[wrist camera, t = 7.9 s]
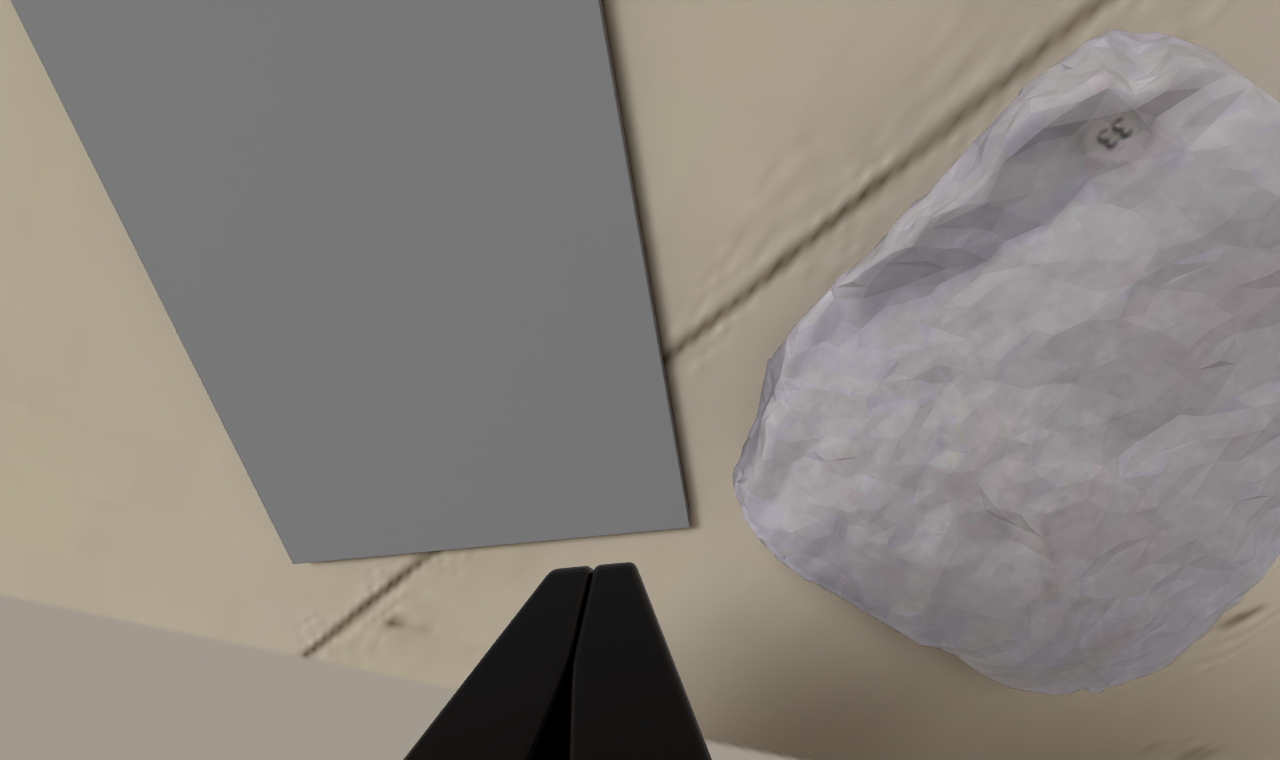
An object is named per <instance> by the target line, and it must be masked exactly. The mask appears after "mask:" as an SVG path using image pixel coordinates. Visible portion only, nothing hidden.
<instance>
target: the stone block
mask: <svg viewBox="0 0 1280 760" xmlns="http://www.w3.org/2000/svg"><path fill="white" fill-rule="evenodd" d="M733 485H734V488H735V493H736V497H737V499H738V501H739V503H740V505H741V507H742V510H743V514H744V517H745V519H746V521H747V522H748V523H749V525H750V526H751V527H752V529H753V530H754V532H755V533H756V535H757V536H758V538H759V539H760V540H761V542H762V543H763V544H764V545H765V546H766V547H767V548H768V549H769V550H770V551H771V552H773V554H774V555H775V557H777V558H778V559H779V560H780V561H781V562H782V563H783V564H784V565H786V566H788V567H790V568H791V569H793V570H794V571H795V572H796V573H798V574H799V575H800V576H801V577H802V578H804V579H805V580H808V581H810V582H815V583H816V584H818V585H819V586H821V587H822V588H823V589H825V590H828V591H831V592H833V593H834V594H836V595H838V596H839V597H841V598H842V599H844V600H846V601H847V602H849V603H850V604H852V605H854V606H855V607H857V608H858V609H860V610H862V611H864V612H866V613H867V614H869V615H871V616H872V617H874V618H876V619H877V620H879V621H881V622H882V623H884V624H886V625H887V626H889V627H891V628H893V629H895V630H896V631H898V632H900V633H902V634H904V635H906V636H907V637H909V638H910V639H911V640H913V641H914V642H916V643H917V644H919V645H922V646H929V647H935V648H938V649H940V650H943V651H945V652H948V653H950V654H954V655H955V656H957V657H958V658H959V659H961V660H962V661H963V662H965V663H966V664H967V665H969V666H970V667H972V668H973V669H974V670H976V671H977V672H978V673H980V674H981V675H985V676H986V677H988V678H990V679H991V680H993V681H996V682H998V683H1001V684H1003V685H1005V686H1007V687H1009V688H1014V689H1019V690H1023V691H1028V692H1035V693H1042V694H1050V695H1060V694H1069V693H1073V692H1076V691H1078V690H1082V689H1085V690H1087V691H1089V692H1090V693H1101V692H1102V691H1104V690H1105V689H1106V688H1108V687H1110V686H1116V685H1123V684H1124V683H1125V682H1127V681H1129V680H1133V679H1136V678H1140V677H1143V676H1146V675H1150V674H1152V673H1154V672H1156V671H1158V670H1160V669H1163V668H1164V667H1166V666H1168V665H1169V664H1171V663H1172V662H1173V661H1174V660H1175V659H1176V658H1178V657H1179V656H1180V655H1181V654H1182V653H1183V652H1184V651H1185V650H1186V649H1187V648H1188V647H1189V646H1190V645H1191V644H1192V643H1193V642H1195V641H1196V640H1198V639H1200V638H1201V637H1203V636H1204V635H1205V634H1206V633H1207V632H1208V631H1209V630H1210V628H1211V627H1212V626H1213V625H1214V624H1215V623H1216V622H1217V621H1218V620H1219V618H1220V617H1221V616H1222V615H1223V614H1224V613H1225V612H1226V611H1228V610H1229V609H1231V608H1232V607H1234V606H1235V605H1236V604H1238V603H1239V601H1240V600H1241V599H1242V597H1243V596H1244V594H1245V593H1246V592H1248V591H1249V590H1250V589H1251V588H1252V587H1253V586H1254V585H1256V584H1257V583H1258V582H1259V581H1260V580H1261V579H1262V578H1263V577H1264V575H1265V574H1266V573H1267V571H1268V570H1269V568H1270V567H1271V565H1272V564H1273V562H1274V561H1275V560H1276V558H1277V557H1278V555H1279V554H1280V103H1279V102H1278V101H1276V100H1275V99H1274V98H1273V97H1271V96H1270V95H1269V94H1267V93H1266V92H1265V91H1263V90H1262V89H1261V88H1259V87H1258V86H1256V85H1255V84H1254V83H1252V82H1251V81H1250V80H1249V79H1247V78H1246V77H1245V76H1244V75H1243V74H1241V73H1240V72H1239V71H1238V70H1237V69H1235V68H1234V67H1233V66H1232V65H1231V64H1229V63H1228V62H1227V61H1225V60H1224V59H1223V58H1222V57H1220V56H1219V55H1218V54H1216V53H1215V52H1214V51H1212V50H1209V49H1206V48H1204V47H1201V46H1198V45H1195V44H1193V43H1190V42H1187V41H1184V40H1182V39H1179V38H1176V37H1173V36H1170V35H1166V34H1161V33H1157V32H1150V33H1140V34H1137V33H1131V32H1127V31H1122V30H1112V31H1107V32H1105V33H1103V34H1100V35H1098V36H1096V37H1094V38H1092V39H1090V40H1088V41H1086V42H1085V43H1084V44H1083V45H1082V46H1081V47H1079V48H1078V49H1077V50H1076V51H1074V52H1073V53H1072V54H1070V55H1069V56H1068V57H1066V58H1064V59H1063V60H1061V61H1059V62H1058V63H1056V64H1055V65H1053V66H1052V67H1050V68H1049V69H1047V70H1046V71H1045V72H1043V73H1042V74H1040V75H1039V76H1038V77H1036V78H1035V79H1033V80H1032V81H1031V82H1029V83H1028V84H1026V85H1025V86H1023V88H1022V90H1021V91H1020V93H1019V95H1018V97H1017V98H1016V99H1015V100H1014V101H1013V102H1012V103H1011V104H1010V105H1009V106H1008V107H1007V108H1006V109H1005V110H1004V111H1003V112H1002V113H1001V114H1000V115H999V116H998V117H997V118H996V119H995V121H994V122H993V123H992V124H991V125H990V126H989V127H988V128H987V129H986V130H985V131H984V132H983V133H982V134H981V135H980V136H979V137H978V138H976V139H975V140H974V141H973V142H972V143H971V145H970V146H969V147H968V149H967V150H966V151H965V152H964V154H963V155H962V156H961V157H960V159H959V160H958V161H957V162H956V163H955V164H954V165H953V166H952V167H951V168H950V169H949V170H948V171H947V173H946V174H945V175H944V176H943V177H942V178H941V179H940V180H939V181H938V182H937V183H936V185H935V186H934V187H933V188H932V190H931V191H930V192H929V193H928V194H927V195H925V196H923V197H922V198H920V199H918V200H917V201H915V202H913V203H912V205H911V207H910V209H909V210H908V211H907V212H905V213H904V214H903V215H902V216H901V217H900V218H899V219H898V220H897V221H896V223H895V224H894V225H893V226H892V227H891V229H890V231H889V232H888V233H887V234H886V235H885V236H884V237H883V239H882V240H881V241H880V242H879V243H878V245H877V246H876V247H875V248H874V249H873V250H872V251H871V252H870V253H869V254H868V255H867V256H866V257H865V258H864V259H863V260H861V261H860V262H859V263H857V264H856V265H855V266H853V267H852V268H851V269H849V270H848V271H847V272H845V273H844V274H842V275H841V276H840V277H839V278H838V279H837V280H836V281H835V282H834V284H833V285H832V286H831V287H830V288H829V289H828V291H827V292H826V293H825V294H824V295H823V297H822V298H821V299H820V300H819V301H818V303H817V304H815V305H814V306H812V307H811V308H810V309H809V311H808V312H807V313H806V314H805V315H804V316H803V318H802V319H801V320H800V321H799V322H798V323H797V324H796V325H795V326H794V327H793V329H792V330H791V332H790V334H789V336H788V337H787V340H786V341H785V342H784V343H783V344H782V345H781V346H780V347H779V348H778V349H777V351H776V353H775V354H774V356H773V357H772V358H771V359H769V360H768V362H767V368H766V374H765V379H764V383H763V387H762V392H761V399H760V404H759V409H758V414H757V418H756V420H755V422H754V424H753V426H752V428H751V430H750V432H749V435H748V438H747V440H746V442H745V444H744V446H743V450H742V454H741V457H740V459H739V461H738V463H737V464H736V466H735V467H734V472H733Z"/></svg>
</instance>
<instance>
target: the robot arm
mask: <svg viewBox="0 0 1280 760" xmlns="http://www.w3.org/2000/svg"><path fill="white" fill-rule="evenodd" d="M404 760H712V759H711V756H710V754H709V751H708V748H707V746H706V743H705V741H704V738H703V736H702V733H701V730H700V728H699V725H698V723H697V720H696V718H695V715H694V712H693V710H692V707H691V705H690V702H689V700H688V697H687V695H686V692H685V689H684V687H683V684H682V682H681V679H680V677H679V674H678V671H677V669H676V666H675V664H674V661H673V659H672V656H671V653H670V651H669V648H668V646H667V643H666V641H665V638H664V636H663V633H662V630H661V628H660V625H659V623H658V620H657V618H656V615H655V612H654V610H653V607H652V605H651V602H650V600H649V597H648V594H647V592H646V589H645V587H644V584H643V582H642V579H641V576H640V574H639V571H638V569H637V567H636V565H635V564H633V563H631V562H627V563H616V564H604V565H599V566H597V567H596V568H595V569H594V570H593V569H592V568H590V567H588V566H582V567H571V568H560V569H555V570H553V571H551V572H550V573H549V574H548V575H547V576H546V577H545V579H544V580H543V581H542V582H541V584H540V585H539V586H538V588H537V589H536V590H535V591H534V593H533V594H532V595H531V597H530V598H529V599H528V600H527V602H526V603H525V604H524V606H523V607H522V608H521V609H520V611H519V612H518V613H517V615H516V616H515V617H514V618H513V620H512V621H511V622H510V623H509V625H508V626H507V627H506V629H505V630H504V631H503V632H502V634H501V635H500V636H499V638H498V639H497V640H496V641H495V643H494V644H493V645H492V647H491V648H490V649H489V650H488V652H487V653H486V654H485V656H484V657H483V658H482V659H481V661H480V662H479V663H478V665H477V666H476V667H475V668H474V670H473V671H472V672H471V674H470V675H469V676H468V677H467V679H466V680H465V681H464V683H463V684H462V685H461V686H460V688H459V689H458V690H457V691H456V693H455V694H454V695H453V697H452V698H451V699H450V701H449V702H448V703H447V704H446V706H445V707H444V708H443V709H442V711H441V712H440V713H439V715H438V716H437V717H436V718H435V720H434V721H433V722H432V724H431V725H430V726H429V728H428V729H427V730H426V731H425V733H424V734H423V735H422V736H421V738H420V739H419V740H418V742H417V743H416V744H415V745H414V747H413V748H412V749H411V751H410V752H409V753H408V754H407V756H406V757H405V758H404Z"/></svg>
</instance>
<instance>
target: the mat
mask: <svg viewBox="0 0 1280 760" xmlns="http://www.w3.org/2000/svg"><path fill="white" fill-rule="evenodd" d="M11 2H12V4H13V6H14V8H15V10H16V12H17V14H18V16H19V18H20V20H21V22H22V24H23V26H24V28H25V30H26V32H27V34H28V36H29V38H30V40H31V42H32V44H33V46H34V48H35V50H36V52H37V54H38V56H39V58H40V60H41V62H42V64H43V66H44V68H45V70H46V72H47V74H48V76H49V78H50V80H51V82H52V84H53V86H54V88H55V90H56V92H57V94H58V96H59V98H60V100H61V102H62V104H63V106H64V108H65V110H66V112H67V114H68V116H69V118H70V120H71V122H72V124H73V126H74V128H75V130H76V132H77V134H78V136H79V138H80V140H81V142H82V144H83V146H84V148H85V150H86V152H87V153H88V155H89V157H90V159H91V161H92V163H93V165H94V167H95V169H96V171H97V173H98V175H99V177H100V179H101V181H102V183H103V185H104V187H105V189H106V191H107V193H108V195H109V197H110V199H111V201H112V203H113V205H114V207H115V209H116V211H117V213H118V215H119V217H120V219H121V221H122V223H123V225H124V227H125V229H126V231H127V233H128V235H129V237H130V239H131V241H132V243H133V245H134V247H135V249H136V251H137V253H138V255H139V257H140V259H141V261H142V263H143V265H144V267H145V269H146V271H147V273H148V275H149V277H150V279H151V281H152V283H153V285H154V287H155V289H156V291H157V293H158V295H159V297H160V299H161V301H162V303H163V305H164V307H165V309H166V311H167V313H168V315H169V317H170V319H171V321H172V323H173V325H174V327H175V329H176V331H177V333H178V335H179V337H180V339H181V341H182V343H183V345H184V347H185V349H186V351H187V353H188V355H189V357H190V359H191V361H192V363H193V365H194V367H195V369H196V371H197V373H198V375H199V377H200V379H201V381H202V383H203V385H204V387H205V389H206V391H207V393H208V395H209V397H210V399H211V401H212V403H213V405H214V407H215V409H216V411H217V413H218V415H219V417H220V419H221V421H222V423H223V425H224V427H225V429H226V431H227V433H228V435H229V437H230V439H231V441H232V443H233V445H234V447H235V449H236V451H237V453H238V455H239V457H240V459H241V461H242V463H243V465H244V467H245V469H246V471H247V473H248V475H249V477H250V479H251V481H252V483H253V485H254V487H255V489H256V491H257V493H258V495H259V497H260V499H261V501H262V503H263V505H264V507H265V509H266V511H267V513H268V515H269V517H270V519H271V521H272V523H273V525H274V527H275V529H276V531H277V533H278V535H279V537H280V539H281V541H282V543H283V545H284V547H285V549H286V551H287V553H288V555H289V557H290V559H291V561H292V563H293V564H299V563H310V562H321V561H332V560H342V559H353V558H364V557H375V556H386V555H396V554H407V553H418V552H429V551H440V550H450V549H461V548H472V547H483V546H494V545H504V544H515V543H526V542H537V541H548V540H558V539H569V538H580V537H591V536H602V535H612V534H623V533H634V532H645V531H656V530H666V529H677V528H688V527H689V508H688V502H687V497H686V491H685V485H684V479H683V473H682V467H681V461H680V456H679V450H678V444H677V438H676V432H675V426H674V420H673V415H672V409H671V403H670V397H669V391H668V385H667V380H666V374H665V368H664V362H663V356H662V350H661V344H660V339H659V333H658V327H657V321H656V315H655V309H654V304H653V298H652V292H651V286H650V280H649V274H648V268H647V263H646V257H645V251H644V245H643V239H642V233H641V228H640V222H639V216H638V210H637V204H636V198H635V192H634V187H633V181H632V175H631V169H630V163H629V157H628V152H627V146H626V140H625V134H624V128H623V122H622V116H621V111H620V105H619V99H618V93H617V87H616V81H615V76H614V70H613V64H612V58H611V52H610V46H609V40H608V35H607V29H606V23H605V17H604V11H603V5H602V0H11Z"/></svg>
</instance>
